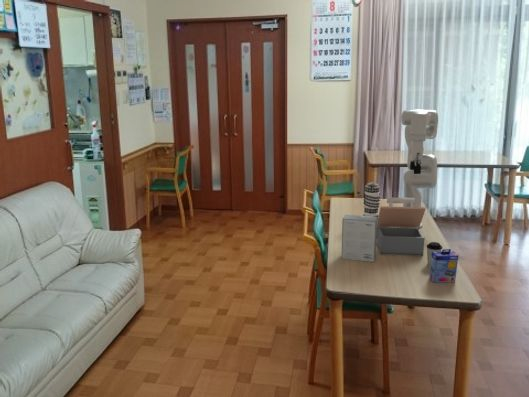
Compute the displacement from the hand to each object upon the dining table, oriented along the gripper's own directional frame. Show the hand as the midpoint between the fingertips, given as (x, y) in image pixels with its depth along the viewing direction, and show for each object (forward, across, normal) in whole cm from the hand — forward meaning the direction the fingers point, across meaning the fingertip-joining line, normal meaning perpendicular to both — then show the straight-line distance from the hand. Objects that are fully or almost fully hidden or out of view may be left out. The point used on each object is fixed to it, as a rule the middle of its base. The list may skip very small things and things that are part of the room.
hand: (415, 171), depth 255 cm
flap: (+21, +12, -8) cm, 25 cm away
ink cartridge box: (+36, +50, +4) cm, 62 cm away
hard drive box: (+36, +27, -29) cm, 54 cm away
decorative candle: (+36, -21, -18) cm, 46 cm away
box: (+36, +15, -8) cm, 40 cm away
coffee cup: (+36, +33, +4) cm, 49 cm away
